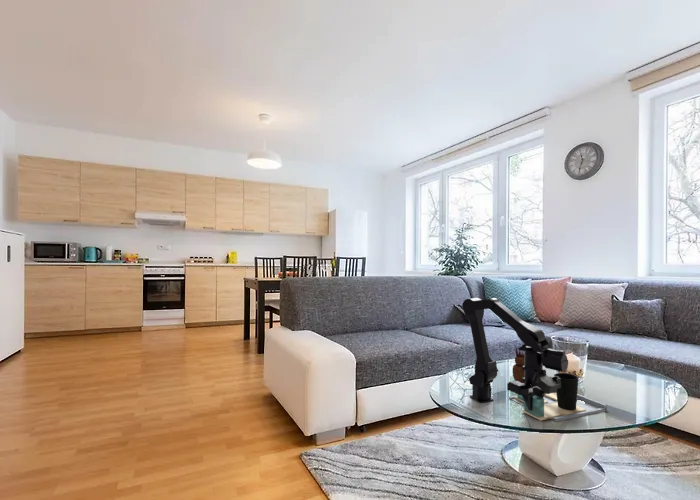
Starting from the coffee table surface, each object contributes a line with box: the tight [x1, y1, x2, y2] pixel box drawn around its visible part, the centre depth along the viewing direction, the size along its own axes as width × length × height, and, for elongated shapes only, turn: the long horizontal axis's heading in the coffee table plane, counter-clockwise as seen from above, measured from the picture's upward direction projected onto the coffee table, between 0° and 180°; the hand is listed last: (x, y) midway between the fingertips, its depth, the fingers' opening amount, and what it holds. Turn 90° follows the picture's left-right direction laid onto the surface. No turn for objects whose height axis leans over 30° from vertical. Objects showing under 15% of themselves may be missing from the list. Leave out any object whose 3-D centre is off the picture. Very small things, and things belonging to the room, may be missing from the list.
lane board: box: [508, 393, 608, 422], centre depth 140 cm, size 25×21×2 cm
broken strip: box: [515, 393, 557, 404], centre depth 144 cm, size 22×8×2 cm, turn 110°
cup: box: [553, 372, 580, 410], centre depth 134 cm, size 8×8×12 cm
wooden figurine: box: [512, 347, 525, 383], centre depth 165 cm, size 7×6×15 cm
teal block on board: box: [521, 395, 586, 422], centre depth 132 cm, size 22×8×7 cm, turn 110°
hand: (533, 409), depth 129 cm, fingers closed on teal block on board, 3 cm apart
